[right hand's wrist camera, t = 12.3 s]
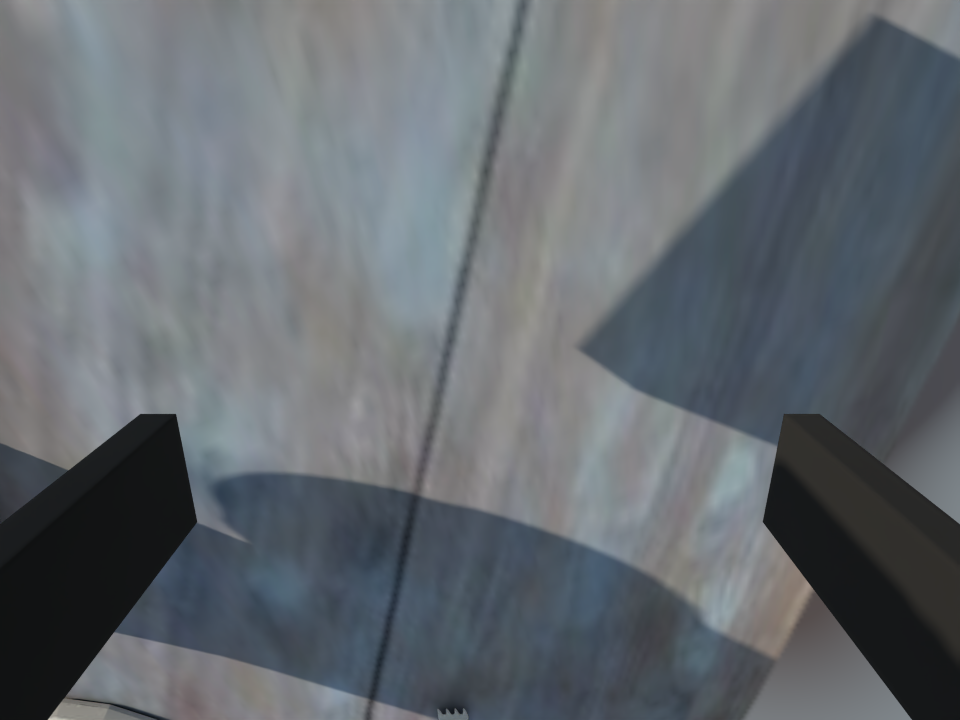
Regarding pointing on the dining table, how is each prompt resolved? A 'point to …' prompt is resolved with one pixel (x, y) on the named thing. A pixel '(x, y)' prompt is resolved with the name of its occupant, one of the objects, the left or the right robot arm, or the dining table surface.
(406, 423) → the dining table surface
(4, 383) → the dining table surface
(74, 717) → the wall clock
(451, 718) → the fork
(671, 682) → the dining table surface
